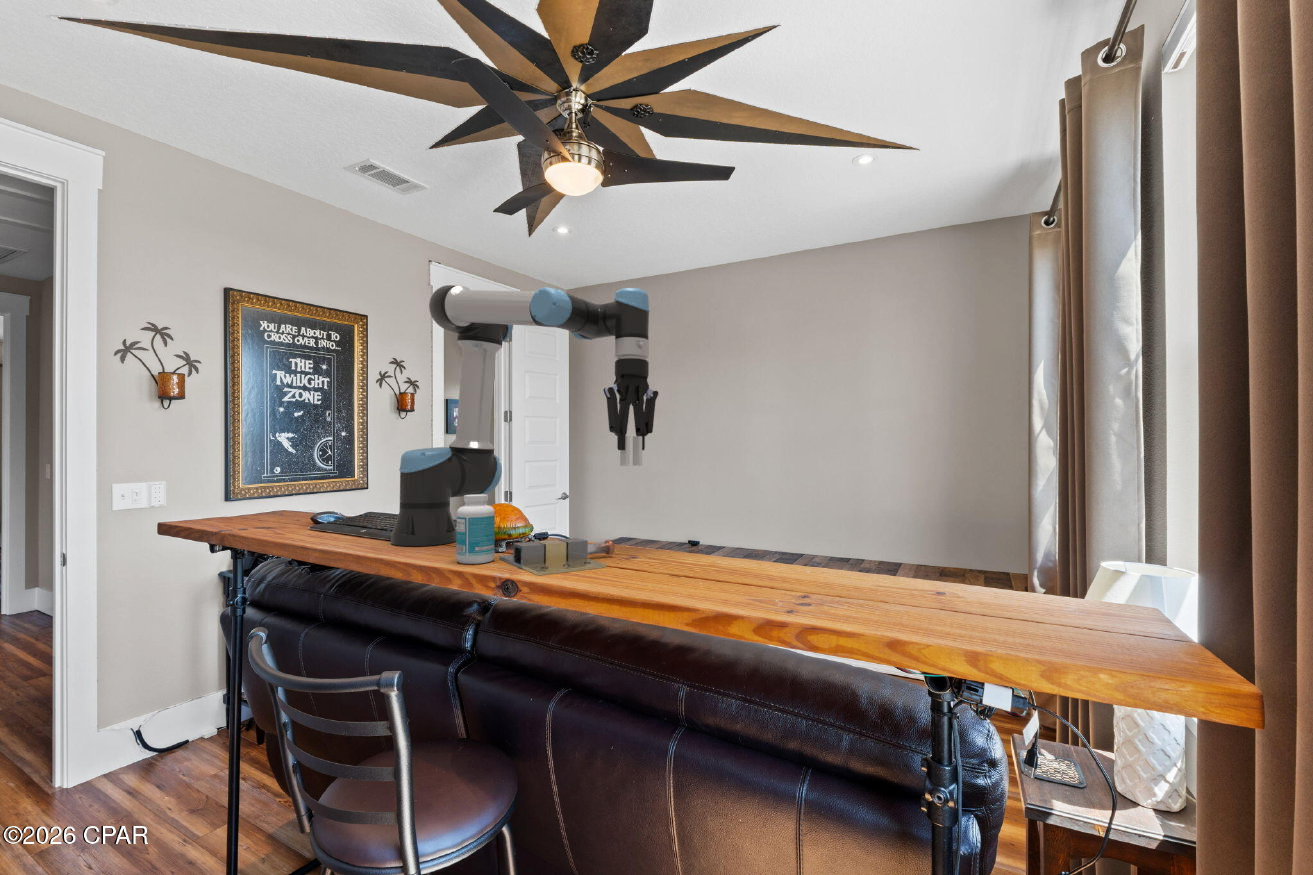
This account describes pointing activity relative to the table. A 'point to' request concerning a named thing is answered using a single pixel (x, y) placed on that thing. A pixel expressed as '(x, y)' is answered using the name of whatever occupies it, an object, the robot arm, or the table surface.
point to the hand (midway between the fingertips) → (631, 465)
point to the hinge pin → (601, 547)
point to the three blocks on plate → (552, 556)
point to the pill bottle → (475, 531)
